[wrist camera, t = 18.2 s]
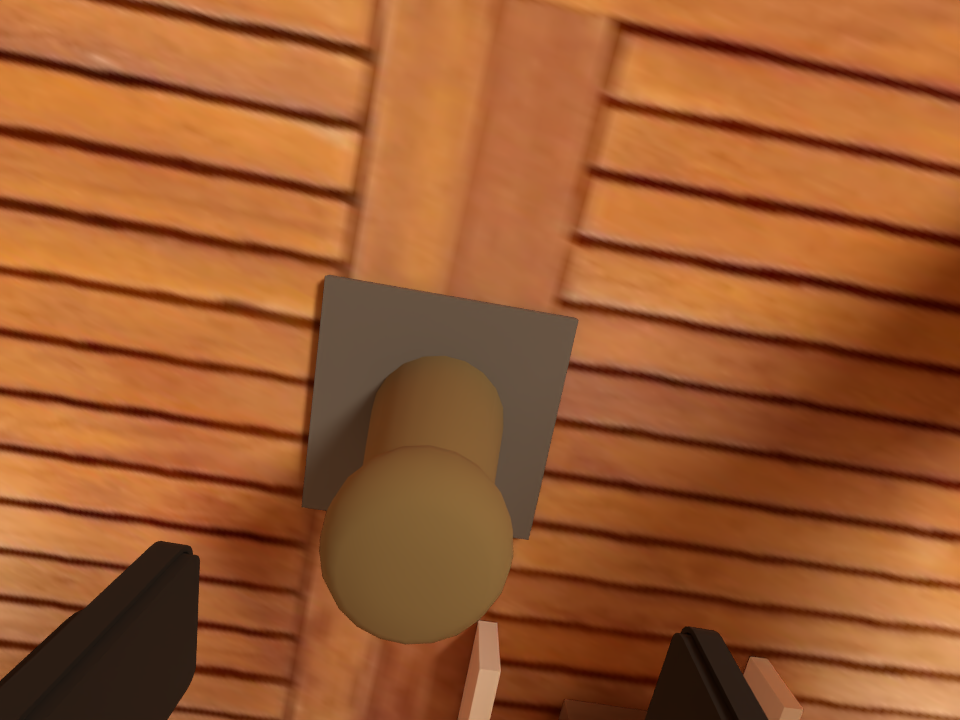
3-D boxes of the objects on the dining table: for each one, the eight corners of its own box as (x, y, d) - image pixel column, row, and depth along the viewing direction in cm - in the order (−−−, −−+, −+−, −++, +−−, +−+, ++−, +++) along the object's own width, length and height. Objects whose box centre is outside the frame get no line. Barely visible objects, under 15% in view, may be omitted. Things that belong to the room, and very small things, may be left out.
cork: (351, 450, 23) (249, 637, 12) (402, 333, 22) (339, 428, 11) (469, 499, 24) (472, 716, 13) (526, 388, 22) (581, 528, 12)
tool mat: (329, 274, 21) (325, 276, 21) (575, 317, 22) (578, 320, 22) (305, 500, 24) (301, 507, 23) (527, 532, 25) (528, 539, 24)
